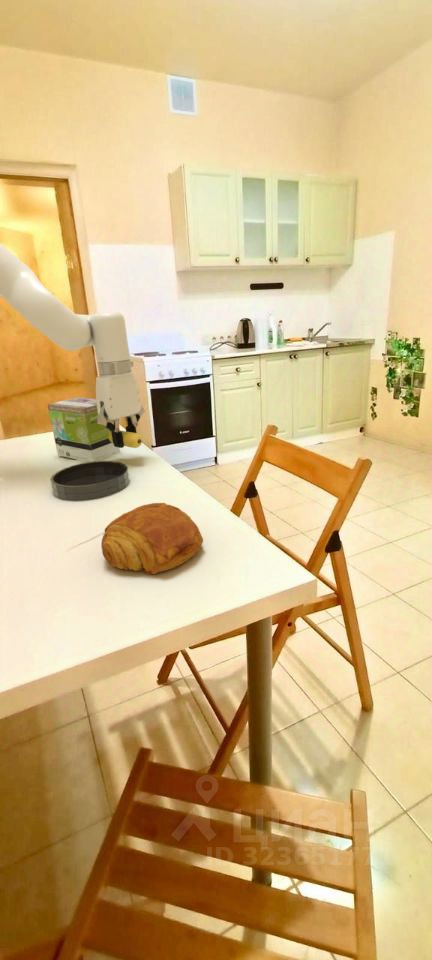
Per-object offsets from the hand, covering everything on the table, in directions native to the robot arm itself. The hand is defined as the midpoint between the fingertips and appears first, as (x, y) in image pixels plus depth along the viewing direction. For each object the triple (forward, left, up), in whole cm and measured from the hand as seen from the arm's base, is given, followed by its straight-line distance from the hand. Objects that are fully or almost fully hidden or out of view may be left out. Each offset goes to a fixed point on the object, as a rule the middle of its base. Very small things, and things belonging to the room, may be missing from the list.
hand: (125, 443), depth 110 cm
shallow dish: (+6, -15, -5) cm, 17 cm away
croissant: (+39, -27, -5) cm, 47 cm away
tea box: (-16, -1, -5) cm, 17 cm away
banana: (0, 0, 0) cm, 0 cm away
